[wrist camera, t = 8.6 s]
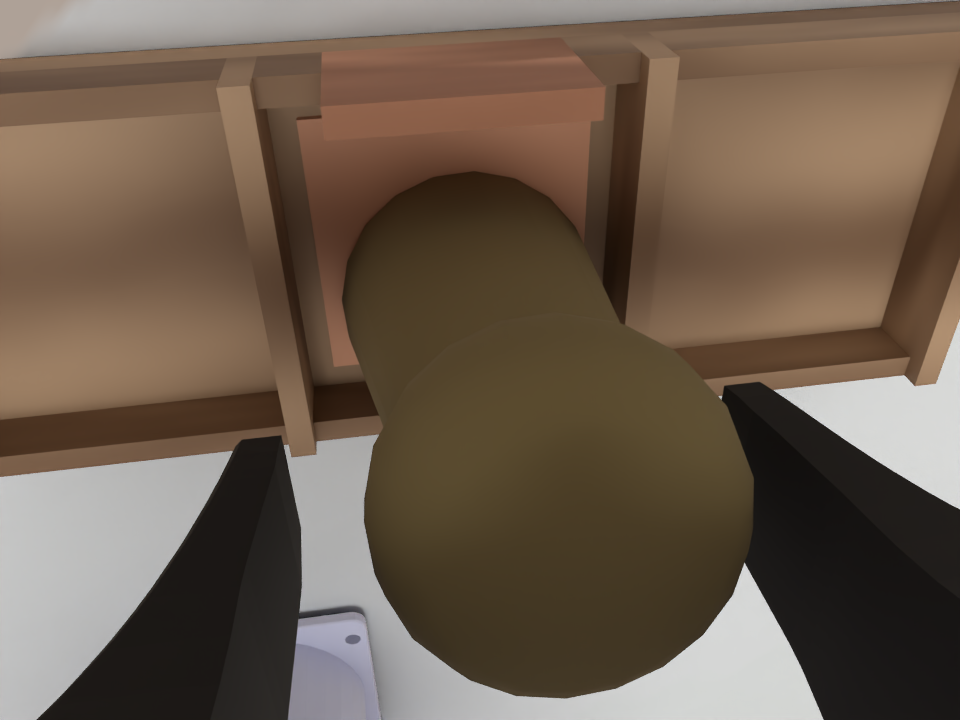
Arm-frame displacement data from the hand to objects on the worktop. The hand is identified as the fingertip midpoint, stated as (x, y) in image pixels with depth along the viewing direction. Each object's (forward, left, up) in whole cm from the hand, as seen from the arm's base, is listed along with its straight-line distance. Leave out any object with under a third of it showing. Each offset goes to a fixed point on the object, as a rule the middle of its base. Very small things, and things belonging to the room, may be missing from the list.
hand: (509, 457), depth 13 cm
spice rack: (0, 0, -9) cm, 9 cm away
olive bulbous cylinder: (-1, 0, -7) cm, 7 cm away
